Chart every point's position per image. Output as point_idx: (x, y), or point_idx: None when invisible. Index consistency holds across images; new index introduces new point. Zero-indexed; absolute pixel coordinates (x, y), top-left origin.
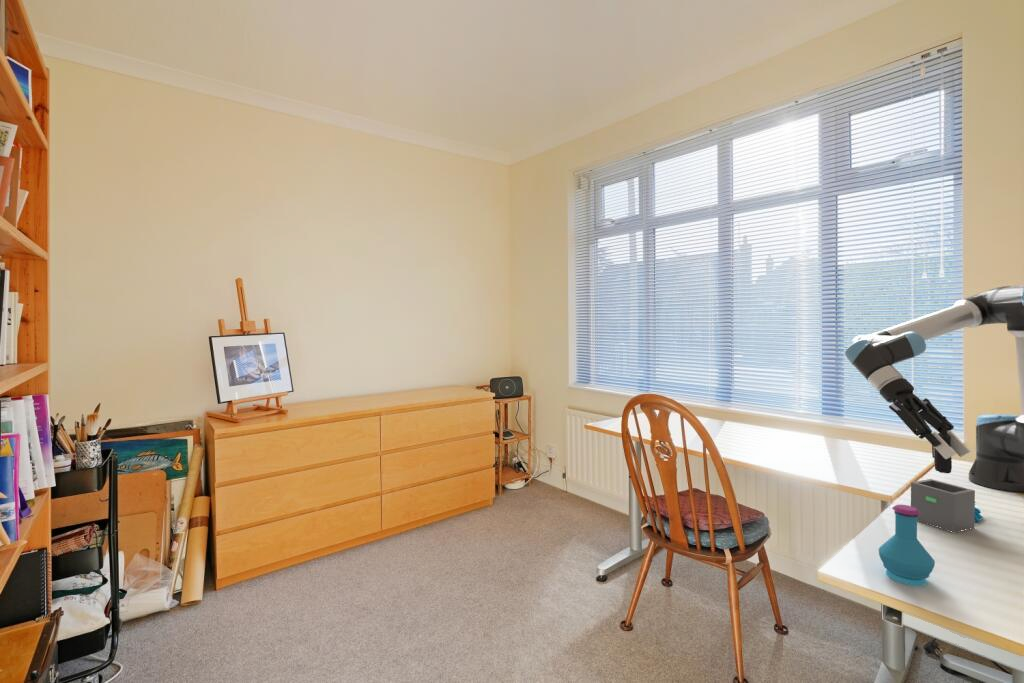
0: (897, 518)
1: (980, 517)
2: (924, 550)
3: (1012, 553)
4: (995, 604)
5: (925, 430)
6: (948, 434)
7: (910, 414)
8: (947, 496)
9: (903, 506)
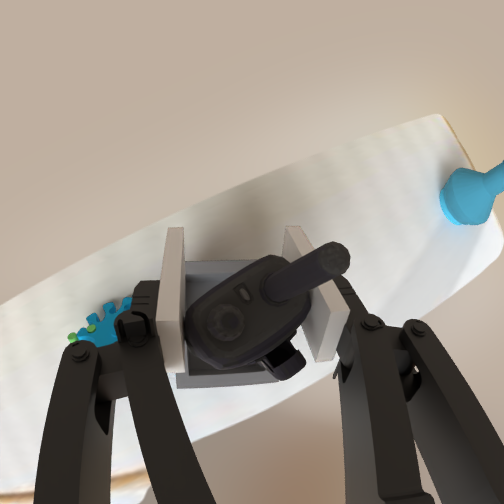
0: None
1: (113, 303)
2: (472, 171)
3: (246, 185)
4: (412, 135)
5: (407, 321)
6: (222, 295)
7: (478, 432)
8: None
9: None
